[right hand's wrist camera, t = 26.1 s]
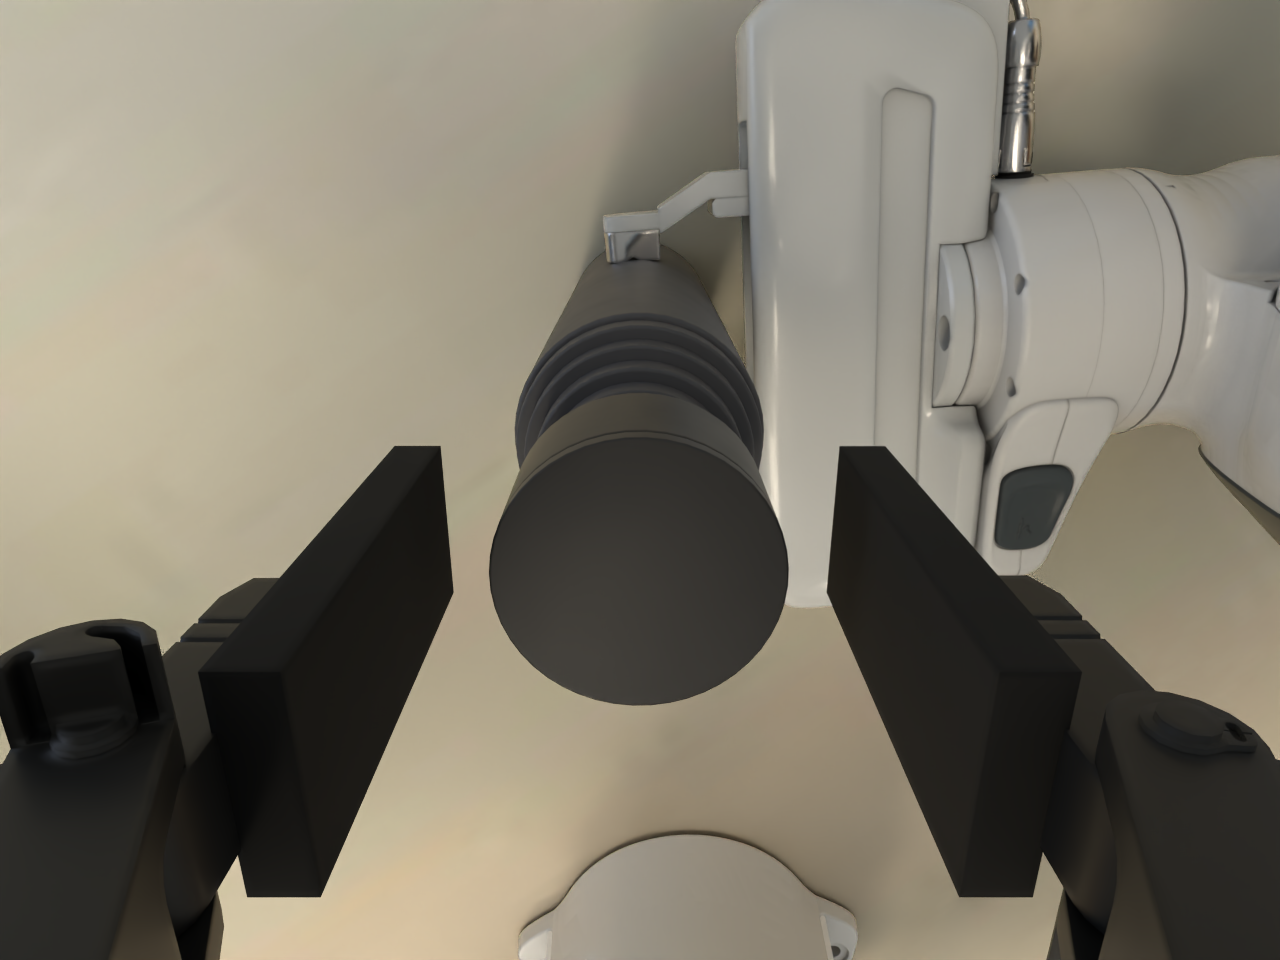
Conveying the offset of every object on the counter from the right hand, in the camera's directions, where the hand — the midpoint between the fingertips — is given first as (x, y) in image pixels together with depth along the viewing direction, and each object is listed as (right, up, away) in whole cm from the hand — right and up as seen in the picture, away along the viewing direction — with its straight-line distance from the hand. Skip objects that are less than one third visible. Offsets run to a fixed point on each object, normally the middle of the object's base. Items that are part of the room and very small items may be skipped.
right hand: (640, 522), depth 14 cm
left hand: (-1, +5, +15) cm, 16 cm away
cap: (0, -1, -2) cm, 2 cm away
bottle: (0, +8, +21) cm, 22 cm away
